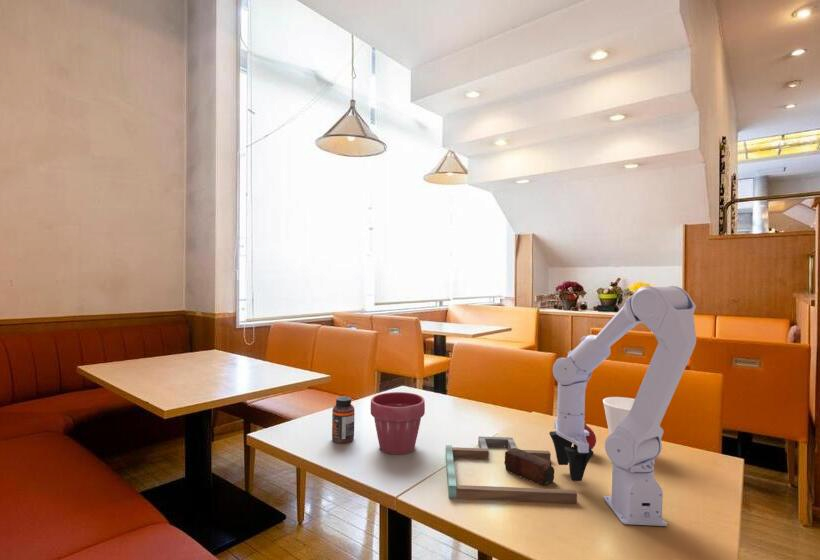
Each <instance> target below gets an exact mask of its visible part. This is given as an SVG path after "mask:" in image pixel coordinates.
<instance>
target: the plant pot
mask: <svg viewBox="0 0 820 560" xmlns="http://www.w3.org/2000/svg"><path fill="white" fill-rule="evenodd" d="M425 403H426V402H425V397H423V396H422V395H419V394H417V393H413V392H407V391H406V392H403V391H396V392H394V391H393V392H384V393H380V394H376V395H374V396H372V397H371V399H370V415H371V416H372V417H373V419H374V425H375V430H376V435H377V439H378V440H377V441H378V445H379V449H380V450H381V451H382V452H384V453H387V454H390V455H404V454H409V453H411V452H412V451H414V450H415V448H416V443H417V438H418V434H419V430H420V425H421V420H422V418H423V417H424V415H425V414H426V413H425V412H426V411H425V409H426V407H425V405H426V404H425Z"/></svg>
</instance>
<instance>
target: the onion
mask: <svg viewBox="0 0 820 560" xmlns="http://www.w3.org/2000/svg"><path fill="white" fill-rule="evenodd" d="M587 424H588V423H587V422H586V421H584V430H587V431H588V432H589V436H586V441H587V443H588V444H589V449H591V450H593V449H594V447H595V446H596V443H597V437H596V434H595V432H594V430H592V428H590V426H588V425H587Z"/></svg>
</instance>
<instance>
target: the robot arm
mask: <svg viewBox="0 0 820 560" xmlns="http://www.w3.org/2000/svg"><path fill="white" fill-rule="evenodd" d="M696 308H697V305H696V304H695V302H694V300H692V298H691V296H690V295H689V293H688V292H687V291H686V290H685V289H683V288H682V287H679V286H674V285H672V286H671V285H670V286H651V285H650V286H645V285H644V286H642V287H639V288H638V289H636V290H635V291H634V292H633V294H632V295H630V296H629V297H627V298H626V299H625V301H624V304H623V305H622V307H621V308H620V309H619V310H618V311H617V313H615V315H614V316H612V318H611V319H610V320H609V321H608V322H607V323H606V324H605V326H603V328H602V329H601V330H600V331H599V332H598V334H588V335H584V336H582V337H581V338H580V339H579V340H580V343H579V344H578V345H577V346H575V347H574V348H573V349H572V350H569V351H568V352H567V356H566V357H560V358H557V359H556V360H555V362H554V363H553V366H552V376H553V377H554V379H555V381H556V382H557V406H556V407H557V410H556V411H557V412H556V413H557V414H556V415H557V416H556V419H555V420H554V421H553V423H554V426H553V428H554V429H555V431H549V436H550V437H551V441H552V443H553V446H554V450H555V454H556V455H555V456H556V461H557V464H558V465H559V466H568V467H569V468H568V469H569V475H570V479H571V481H573V482H582V480H583V478H584V474H585V471H586V467H587V465H588V463H589V461H590V459H592V457H593V456H594V451H593V449H589V444H588V443H587V441H586V436H589V432H588V431H587V430H584V422H585V415H586V413H585V412H586V410H585V409H586V408H585V407H586V406H585V405H586V389H587V388H588V386H587V385H588V382H589V381H590V380H591V377H592V375H593V371H594V370H596V369H597V367H599V366H600V365H601V364H602V363H603V362H604V361H605V360H606V359H608V358H609V357H610V356H611V352H612V351H611V347H612V346H613V345H614V344H616V342H618V341H619V340H620V339H621V338H623V337H624V336H625V335H627V334H628V333H629V332H630V331H631V330H632V329H634V328H635V327H636V326H637V325H639V324H643V325H645V327H647V328H648V329H649V331H650V332H652V334H653V336H654V337H655V339H656V340H657V342H658V343H657V346H656V348H655V351H654V353H653V355H652V357H651V359H650V361H649V365H648V368H647V369H646V371H645V375H644V377H643V379H642V382H641V384H640V386H639V388H638V391H637V393H636V396H635V398H634V399H635V400H634V403H633V405H632V408H631V410H630V412H629V415H628V416H627V417H626V418H625V419H623V420H622V421H621V422H620V423H619V424H618V425H617V428H616V430H615V431H614V433H612V434H611V435H608V436H607V437H606V439H605V442H604V448H605V449H604V450H605V453H606V455H607V458H608V459H609V460H610V461H611V462H610V464H611V466H612V467H611V468H612V469H611V495H604V496H603V500H604V501H605V502H606V503H607V505H608V506H609V508H610V509H611V510H612V511H613V513H614V514H615V515H616V517H617V518H618V519H619V522H621V523H622V524H624V525H635V526H636V525H637V526H638V525H639V526H657V527H666V526H668V523H667V521H666V520H665V519H664V518H663V496H664V494H663V493H664V492H663V489H662V487H661V486H660V484H659V482H658V481H657V479H656V477H655V459H656V458H657V457H659V456H660V455H661V453H662V449H663V444H662V438H663V435H664V429H663V428H662V427H661V424H662V421H663V420H664V419H663V418H664V416H665V415H666V413H667V410H668V407H669V406H670V403H671V402H672V398H673V397H674V394H675V392H676V390H677V387H678V385H679V383H680V382H681V379H682V376H683V374H684V371H685V370H686V367H687V366H688V363H689V361H690V359H691V356H692V354H693V352H694V350H695V347H696V344H697V336H696V335H697V333H696V326H695V317H694V314H695V310H696ZM572 445H573V446H572Z"/></svg>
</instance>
